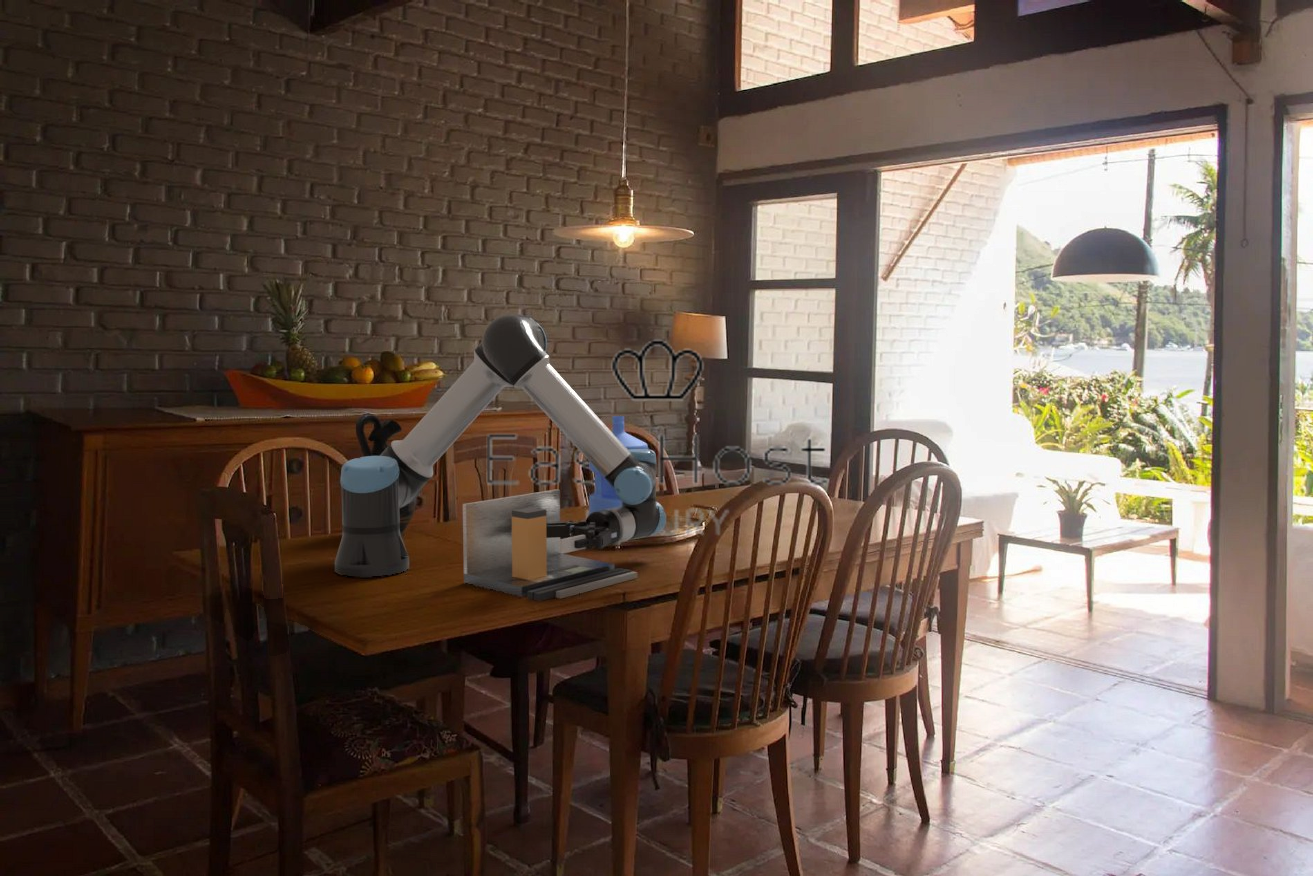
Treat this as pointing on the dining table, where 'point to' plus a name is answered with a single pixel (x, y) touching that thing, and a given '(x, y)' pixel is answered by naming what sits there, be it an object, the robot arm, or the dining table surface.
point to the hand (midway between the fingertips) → (536, 542)
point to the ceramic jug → (380, 438)
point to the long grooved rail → (582, 584)
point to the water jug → (603, 490)
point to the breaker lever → (529, 543)
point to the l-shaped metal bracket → (493, 545)
